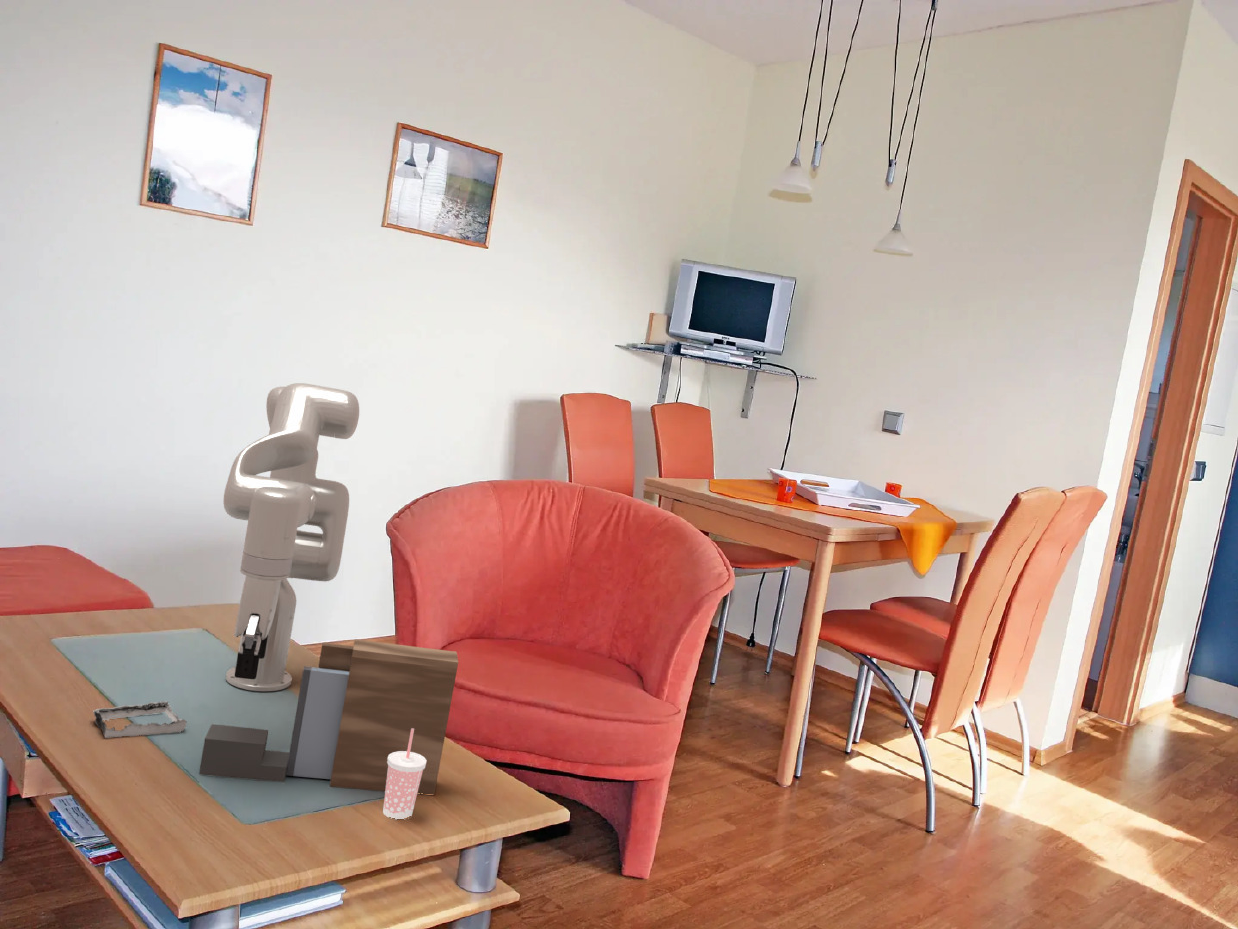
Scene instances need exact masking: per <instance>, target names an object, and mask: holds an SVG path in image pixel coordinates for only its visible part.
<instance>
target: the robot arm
mask: <svg viewBox="0 0 1238 929" xmlns="http://www.w3.org/2000/svg"><path fill="white" fill-rule="evenodd" d="M266 416H267V421H268V426H269V431H268V434H267V435H264V436H263V437H261V438H259V439H256V440H255V441H253V442H252V443H251V444H248V445H247V446H246V447H245V448H243V449H242V450H241V451H240V452H239V453H238V454H237V456H236V457H235V459H234V460H233V461H232V462H233V463H232V465H231V468H230V472H229V475H228V477H227V482H226V485H225V489H224V493H223V508H224V511H225V512H226V514H227V515H228V516H229V517H231V518H234V519H237V520H241V521H247V526H246V533H245V538H244V545H243V552H242V558H241V562H240V563H241V564H240V568H239V571H240V573H241V574H243V575H245V579H244V581H243V587H242V590H241V595H240V596H241V597H240V601H239V607H238V611H237V612H238V613H237V618H236V623H235V628H234V631H233V635H234V637H235V638H239V637H240V639H239V644H238V651H237V658H236V662H235V664H236V665H235V666H234V667H232V668H230V669H228V670H227V672H226V674H225V680H226V682H228V683H229V684H230V685H232V686H233V687H236V688H239V689H241V690H245V691H252V692H275V691H281V690H285V689H286V688H288V687H289V686H290V685H292V680H293V678H292V676H291V674H290V673H289V672H288V671H286V669H287V662H288V657H289V656H288V655H289V651H290V650H289V649H290V643H291V637H292V631H293V626H294V620H295V619H294V618H295V614H296V607H297V595H296V593H295V590H294V589H293V587H292V585H291V583H290V582H289V580H288V579H296V580H297V579H299V580H306V581H313V582H314V581H315V582H331V581H333V580H334V579H335V578H336V576H337V574H338V573H339V569H340V565H341V561H342V554H343V548H344V542H345V537H346V536H345V535H346V529H347V524H348V523H347V522H348V517H349V508H350V494H349V490H348V488H347V486H346V485H345V484H343V483H342V482H339V481H336V480H330V479H329V480H328V479H322V478H317V476H316V473H317V472H316V471H317V467H318V466H317V465H318V461H319V451H318V446H319V444H318V443H319V439H320V436H322V437H329V438H335V439H340V440H348V439H350V438H352V436H353V435H354V434H355V432H356V429H357V427H358V425H359V424H358V423H359V418H360V403H359V400H358V397H357V396H356V395H355V394H354V393H352V392H350V391H349V390H348V391H347V390H344V389H339V388H333V387H329V386H321V385H316V384H310V383H305V382H299V383H298V382H297V383H291V384H289V385H286V386H277V387H274V388H272V389H271V390H270V391H269V392H268V394H267V397H266ZM267 472H270V475H269V476H262V475H259V474H263V473H267ZM304 525H305V526H314V527H318V528H320V529H321V531H322V533H319V532H318V533H317V532H313V531H304V530H300V529H298V528H300V527H303V526H304ZM290 687H291V686H290Z"/></svg>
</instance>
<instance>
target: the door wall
mask: <svg viewBox="0 0 1238 929" xmlns="http://www.w3.org/2000/svg"><path fill="white" fill-rule="evenodd" d="M458 666H459V658H458V652H457V651H454V650H453V651H452V650H444V649H439V648H438V649H435V648H428V647H421V646H419V647H418V646H412V645H405V644H395V643H390V642H389V643H388V642H381V641H371V640H363V639H354V642H353V645H346V644H339V643H338V644H337V643H331V642H322V645H321V650H320V655H319V661H318V667H317V668H323V669H332V670H340V671H349V677H348V683H347V688H346V694H345V700H344V706H343V712H342V717H341V723H340V729H339V735H338V741H337V746H336V752H335V758H334V764H333V770H332V775H331V779H330V782H329V787H331V788H333V787H334V788H343V789H344V788H345V789H356V790H363V791H364V790H365V791H375V792H385V789H386V780H387V772H388V763H387V761H388V760H387V758H388V756H389V754H391V753H393V752H397V751H407V749H408V744H409V738H410V733H411V728H414V733H413V739H412V744H411V750H410V752H414V753H417V754H420V755H422V756H423V757H425V759H426V760H427V762H426V766H425V769H423V772H422V776H421V780H420V784H419V788H418V792H417V793H420V794H421V793H423V794H434V795H435V792H436V788H437V781H438V775H439V770H440V765H441V759H442V754H443V750H444V749H443V748H444V743H445V739H446V738H445V737H446V732H447V726H448V720H449V715H450V710H451V706H452V700H453V693H454V689H455V683H456V677H457V671H458ZM420 794H419V795H420Z"/></svg>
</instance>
